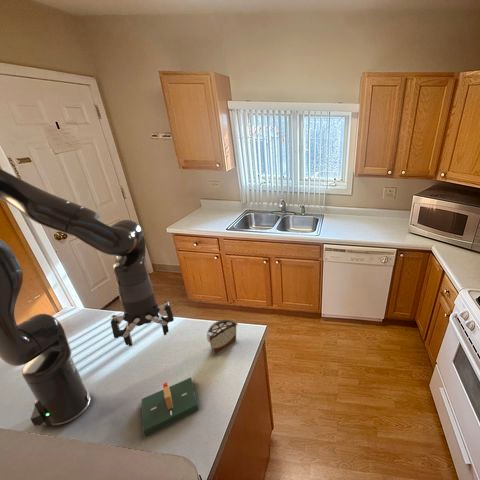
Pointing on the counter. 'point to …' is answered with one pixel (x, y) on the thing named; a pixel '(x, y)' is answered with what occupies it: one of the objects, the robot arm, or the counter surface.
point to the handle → (167, 396)
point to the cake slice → (222, 335)
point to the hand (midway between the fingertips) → (148, 338)
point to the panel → (156, 407)
